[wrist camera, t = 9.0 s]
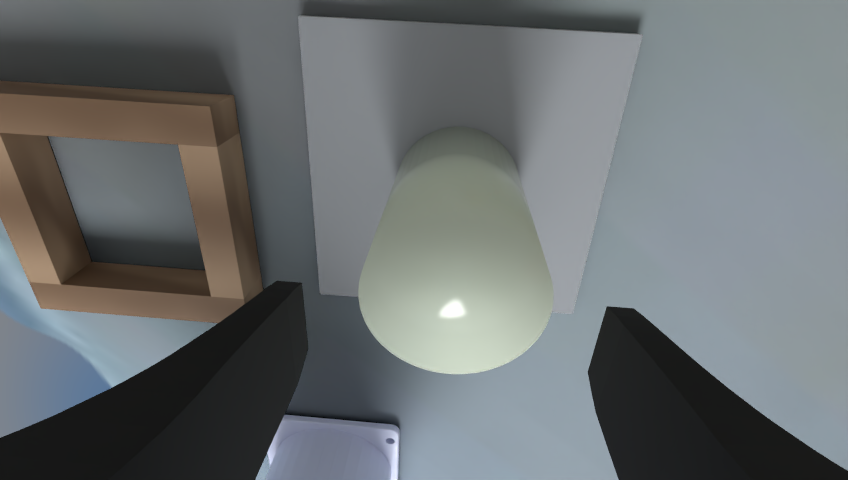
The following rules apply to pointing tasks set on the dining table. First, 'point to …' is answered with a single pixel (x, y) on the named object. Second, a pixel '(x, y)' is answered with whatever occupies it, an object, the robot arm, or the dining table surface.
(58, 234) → the frame
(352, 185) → the mat
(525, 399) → the dining table surface
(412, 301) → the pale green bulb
